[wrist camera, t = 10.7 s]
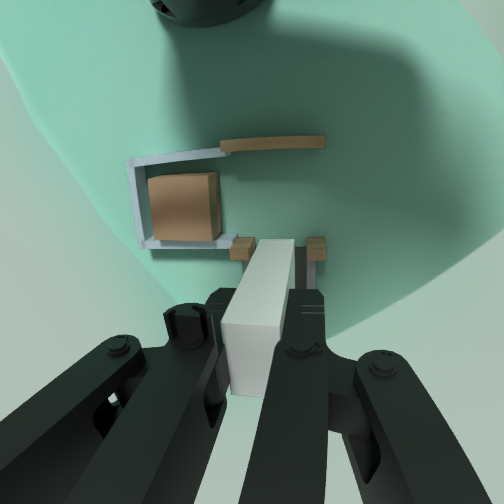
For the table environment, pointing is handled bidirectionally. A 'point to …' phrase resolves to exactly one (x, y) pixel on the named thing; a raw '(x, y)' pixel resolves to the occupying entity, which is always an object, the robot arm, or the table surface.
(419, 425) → the robot arm
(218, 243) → the dock
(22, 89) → the table surface
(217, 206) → the block
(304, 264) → the trap pit
